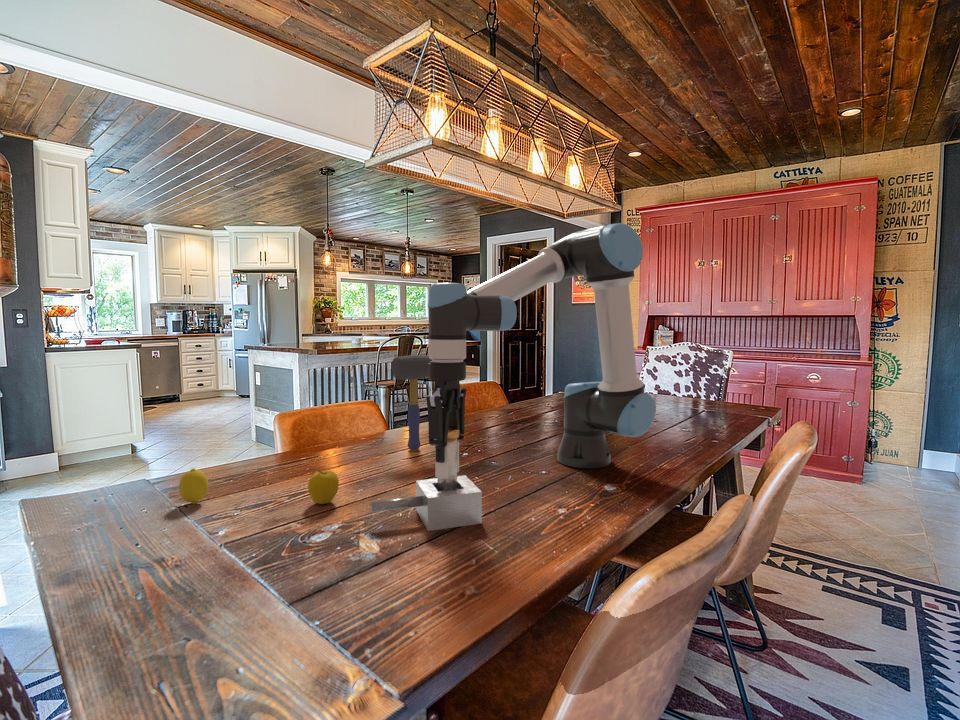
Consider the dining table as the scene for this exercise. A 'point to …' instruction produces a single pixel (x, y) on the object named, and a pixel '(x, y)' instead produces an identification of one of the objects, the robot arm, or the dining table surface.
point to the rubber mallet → (412, 389)
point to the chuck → (440, 504)
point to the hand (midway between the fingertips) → (447, 473)
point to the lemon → (193, 486)
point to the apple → (323, 486)
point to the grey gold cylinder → (450, 462)
